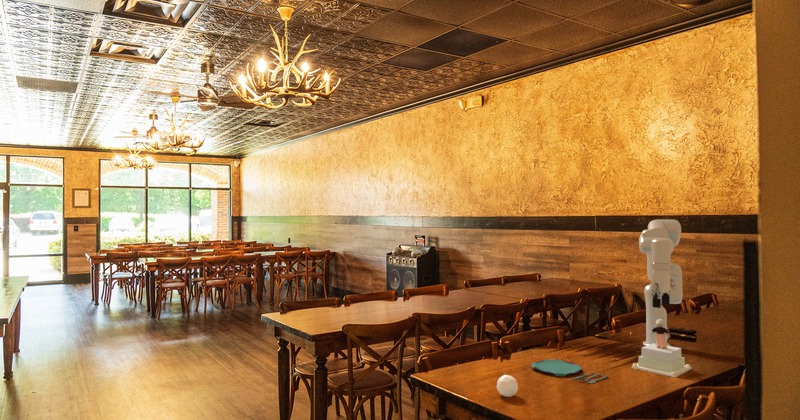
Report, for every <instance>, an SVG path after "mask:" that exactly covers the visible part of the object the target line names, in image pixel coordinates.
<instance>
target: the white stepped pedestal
mask: <svg viewBox="0 0 800 420" xmlns="http://www.w3.org/2000/svg"><path fill="white" fill-rule="evenodd" d="M662 347H663V346H661V348H656V344H655V343H652V344H650V345H647V346H645V345H643V347H641V355H639V356H638V357H637V358H638V359H637V363H632V365H631V369H635V370H638V369H639V371H643V372H649V373H653V374H657V375H662V376H667V377H672V378H677V377H679V376H681V375H683V374H685V373H687V372H688V371H691V370H692V366H691V364H687V363H686V362H685V357H683V356H682V348H681V347H676V346H672V345H670V346H666V347H667V349H662Z"/></svg>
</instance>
